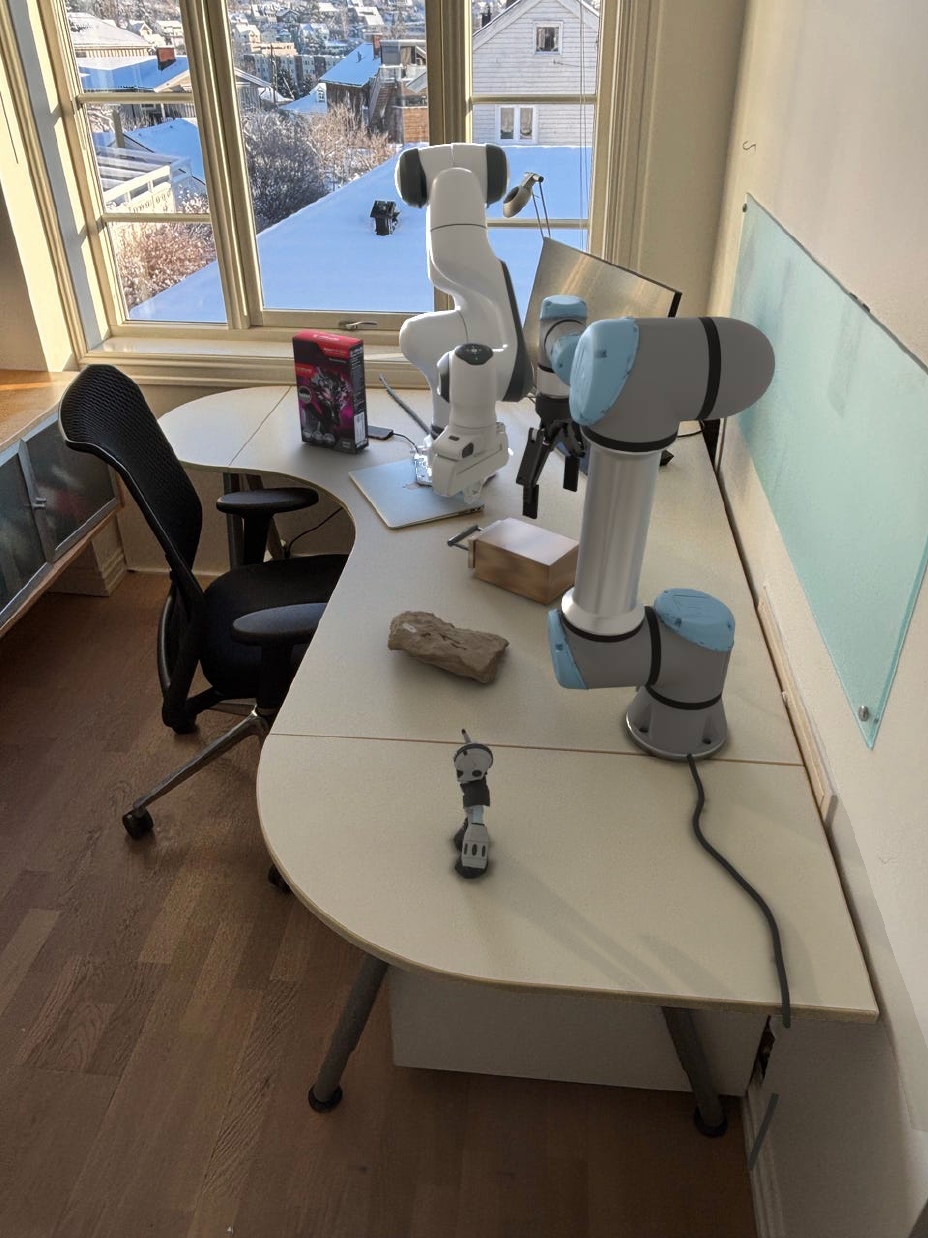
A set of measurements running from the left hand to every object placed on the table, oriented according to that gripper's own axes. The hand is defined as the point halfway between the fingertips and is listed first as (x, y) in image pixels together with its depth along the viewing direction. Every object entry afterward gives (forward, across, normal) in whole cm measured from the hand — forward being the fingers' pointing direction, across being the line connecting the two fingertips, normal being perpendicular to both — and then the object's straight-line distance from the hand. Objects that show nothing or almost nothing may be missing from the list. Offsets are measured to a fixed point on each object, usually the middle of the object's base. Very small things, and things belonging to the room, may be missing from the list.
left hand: (471, 500), depth 180 cm
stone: (+13, +31, +17) cm, 37 cm away
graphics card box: (+13, -24, -61) cm, 67 cm away
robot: (+13, +63, +47) cm, 80 cm away
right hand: (-5, 0, +18) cm, 18 cm away
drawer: (+12, 0, +8) cm, 14 cm away
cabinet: (+13, 0, +14) cm, 19 cm away
